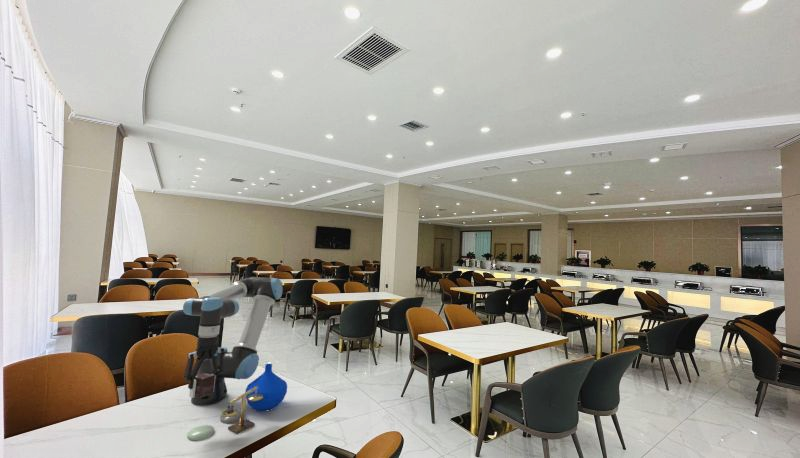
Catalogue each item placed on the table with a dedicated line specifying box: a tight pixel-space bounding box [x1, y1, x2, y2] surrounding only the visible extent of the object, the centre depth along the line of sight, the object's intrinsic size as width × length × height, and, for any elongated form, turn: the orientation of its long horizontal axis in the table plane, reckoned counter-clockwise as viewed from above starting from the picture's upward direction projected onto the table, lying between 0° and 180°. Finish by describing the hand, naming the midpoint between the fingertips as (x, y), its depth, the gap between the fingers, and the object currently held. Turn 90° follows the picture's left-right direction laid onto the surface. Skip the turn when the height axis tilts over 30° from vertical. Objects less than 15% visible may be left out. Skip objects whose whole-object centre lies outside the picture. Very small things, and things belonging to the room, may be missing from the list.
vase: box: [244, 363, 288, 412], centre depth 152 cm, size 18×18×19 cm
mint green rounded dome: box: [186, 424, 215, 441], centre depth 127 cm, size 9×9×1 cm
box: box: [195, 373, 215, 398], centre depth 131 cm, size 6×6×7 cm
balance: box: [221, 386, 263, 435], centre depth 133 cm, size 6×17×15 cm, turn 148°
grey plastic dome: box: [219, 410, 241, 425], centre depth 139 cm, size 9×9×1 cm
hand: (201, 393), depth 131 cm, fingers closed on box, 7 cm apart
